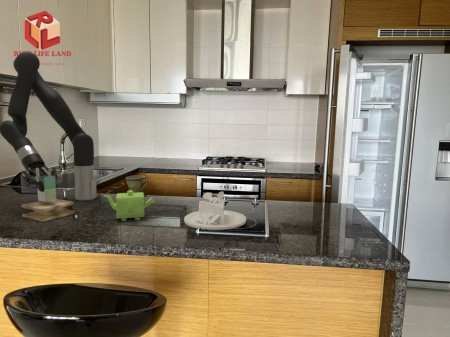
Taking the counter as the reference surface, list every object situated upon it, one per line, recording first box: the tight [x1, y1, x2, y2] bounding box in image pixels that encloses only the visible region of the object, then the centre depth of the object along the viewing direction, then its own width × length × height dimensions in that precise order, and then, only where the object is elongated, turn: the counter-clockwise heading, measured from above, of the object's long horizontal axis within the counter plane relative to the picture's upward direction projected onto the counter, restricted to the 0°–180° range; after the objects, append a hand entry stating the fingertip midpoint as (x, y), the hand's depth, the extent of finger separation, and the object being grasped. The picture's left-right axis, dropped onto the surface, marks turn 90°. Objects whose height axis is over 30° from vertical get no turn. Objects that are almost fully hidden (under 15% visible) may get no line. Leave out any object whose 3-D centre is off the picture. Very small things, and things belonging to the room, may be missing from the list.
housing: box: [37, 175, 57, 202], centre depth 135 cm, size 5×5×10 cm
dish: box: [183, 191, 247, 231], centre depth 131 cm, size 25×25×11 cm
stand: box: [20, 198, 75, 223], centre depth 136 cm, size 14×14×5 cm
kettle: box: [103, 189, 155, 222], centre depth 133 cm, size 15×14×11 cm
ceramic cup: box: [125, 175, 149, 193], centre depth 175 cm, size 13×10×10 cm
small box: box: [19, 174, 38, 195], centre depth 180 cm, size 11×6×10 cm, turn 84°
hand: (49, 189), depth 134 cm, fingers closed on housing, 4 cm apart
